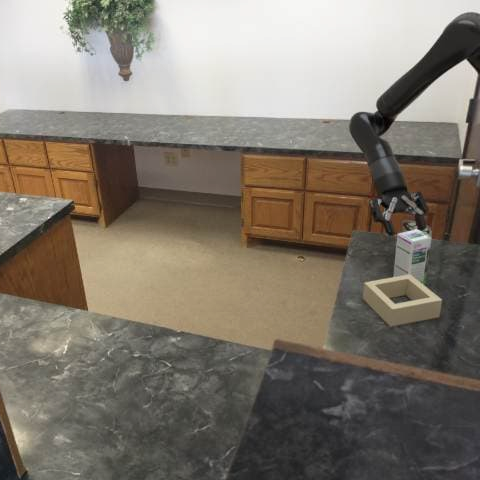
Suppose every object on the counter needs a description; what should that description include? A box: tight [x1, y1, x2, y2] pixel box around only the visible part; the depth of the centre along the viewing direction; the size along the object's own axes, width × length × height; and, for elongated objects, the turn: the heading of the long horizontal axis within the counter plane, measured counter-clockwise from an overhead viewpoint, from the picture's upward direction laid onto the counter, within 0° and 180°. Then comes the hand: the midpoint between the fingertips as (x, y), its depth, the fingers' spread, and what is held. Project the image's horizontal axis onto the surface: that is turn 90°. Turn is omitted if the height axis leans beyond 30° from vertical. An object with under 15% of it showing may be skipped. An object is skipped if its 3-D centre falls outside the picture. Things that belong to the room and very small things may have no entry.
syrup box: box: [392, 229, 432, 286], centre depth 133 cm, size 6×6×14 cm
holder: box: [362, 274, 443, 328], centre depth 126 cm, size 13×13×5 cm
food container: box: [401, 219, 433, 240], centre depth 144 cm, size 12×6×10 cm, turn 171°
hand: (407, 232), depth 133 cm, fingers open, 8 cm apart
